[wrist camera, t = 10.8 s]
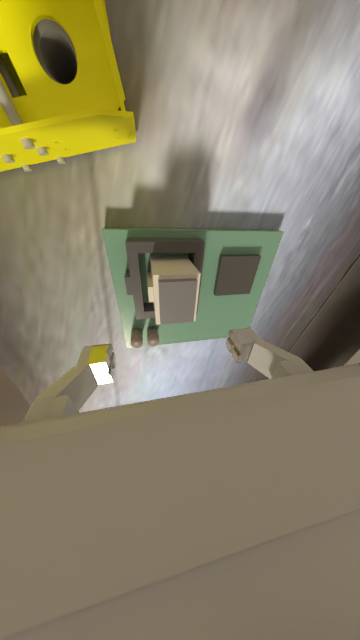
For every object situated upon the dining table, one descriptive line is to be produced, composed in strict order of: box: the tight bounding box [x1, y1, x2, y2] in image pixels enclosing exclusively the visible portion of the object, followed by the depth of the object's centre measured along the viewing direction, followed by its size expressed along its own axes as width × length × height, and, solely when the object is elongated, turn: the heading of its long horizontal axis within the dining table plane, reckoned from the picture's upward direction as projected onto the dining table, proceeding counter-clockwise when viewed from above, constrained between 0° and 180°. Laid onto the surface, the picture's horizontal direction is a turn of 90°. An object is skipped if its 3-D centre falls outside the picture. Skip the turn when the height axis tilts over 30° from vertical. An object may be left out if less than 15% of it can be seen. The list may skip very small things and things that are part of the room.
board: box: [102, 227, 283, 348], centre depth 22 cm, size 20×16×4 cm
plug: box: [147, 255, 201, 325], centre depth 17 cm, size 4×5×7 cm
